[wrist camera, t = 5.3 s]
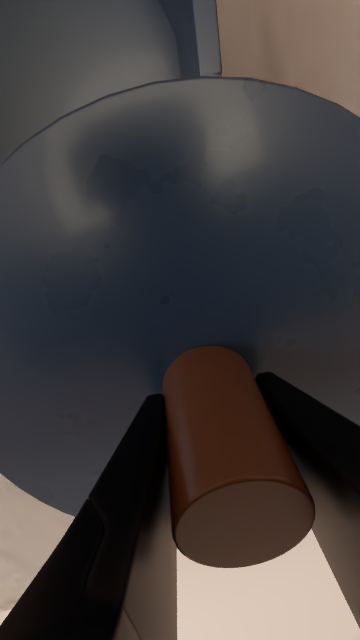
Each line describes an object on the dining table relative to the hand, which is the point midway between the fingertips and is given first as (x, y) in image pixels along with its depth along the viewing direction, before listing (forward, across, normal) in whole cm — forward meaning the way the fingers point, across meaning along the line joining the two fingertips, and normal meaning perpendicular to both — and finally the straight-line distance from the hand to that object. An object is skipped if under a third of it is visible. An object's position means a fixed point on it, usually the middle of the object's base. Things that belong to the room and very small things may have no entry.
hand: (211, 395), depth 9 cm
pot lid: (+1, 0, 0) cm, 1 cm away
